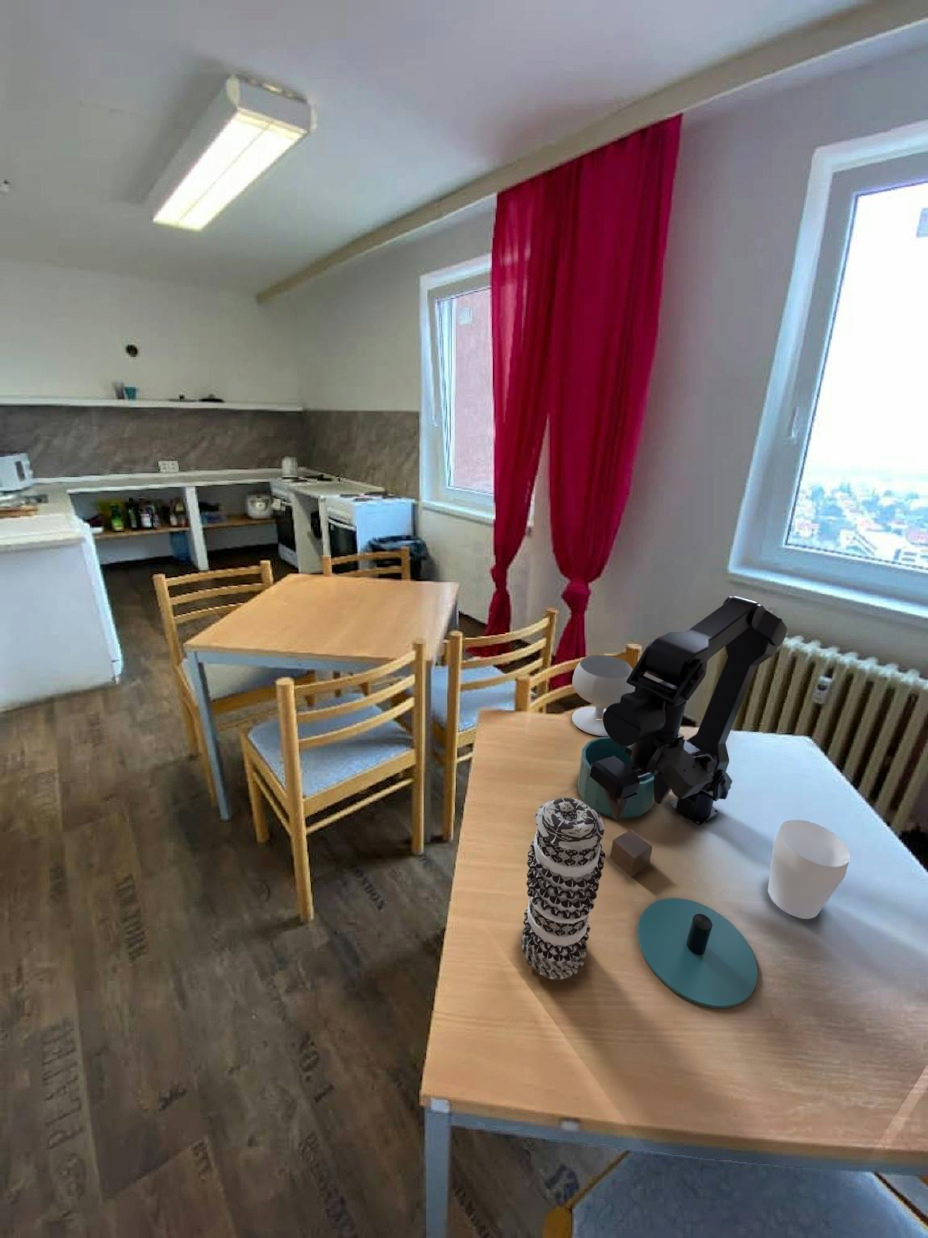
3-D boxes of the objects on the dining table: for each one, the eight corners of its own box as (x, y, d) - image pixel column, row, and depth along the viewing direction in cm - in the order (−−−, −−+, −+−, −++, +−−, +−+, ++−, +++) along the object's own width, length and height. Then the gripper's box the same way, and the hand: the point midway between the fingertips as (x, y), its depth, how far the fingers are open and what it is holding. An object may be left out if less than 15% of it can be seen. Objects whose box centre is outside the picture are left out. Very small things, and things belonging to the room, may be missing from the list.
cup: (817, 886, 82) (840, 828, 77) (834, 937, 74) (861, 876, 69) (754, 869, 85) (773, 812, 80) (764, 917, 77) (785, 857, 72)
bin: (612, 760, 110) (617, 728, 107) (669, 801, 99) (676, 767, 96) (562, 784, 103) (566, 750, 100) (617, 830, 92) (624, 795, 89)
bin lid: (681, 887, 81) (688, 858, 79) (778, 970, 70) (790, 939, 67) (613, 935, 74) (619, 904, 71) (710, 1037, 62) (721, 1005, 60)
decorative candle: (598, 983, 67) (625, 837, 58) (529, 995, 66) (546, 847, 56) (572, 919, 76) (592, 782, 66) (511, 929, 74) (522, 790, 64)
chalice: (613, 747, 114) (622, 688, 108) (557, 724, 122) (563, 667, 116) (637, 720, 124) (647, 664, 118) (584, 700, 132) (591, 647, 126)
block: (627, 849, 88) (631, 829, 86) (648, 867, 85) (652, 847, 83) (609, 860, 86) (612, 839, 84) (630, 879, 82) (634, 858, 81)
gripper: (659, 770, 64) (634, 867, 70) (748, 738, 74) (720, 826, 79) (596, 725, 73) (578, 814, 79) (683, 702, 83) (662, 783, 88)
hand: (637, 810), depth 81 cm, fingers open, 9 cm apart
